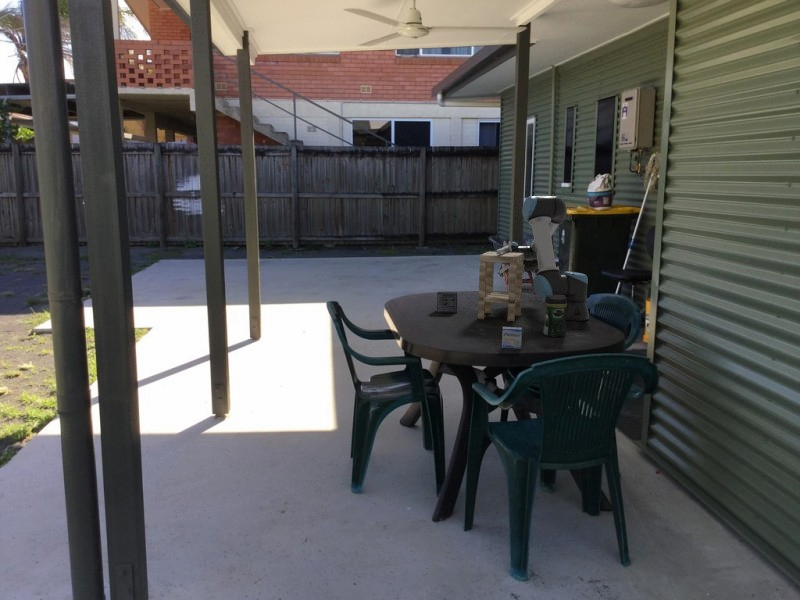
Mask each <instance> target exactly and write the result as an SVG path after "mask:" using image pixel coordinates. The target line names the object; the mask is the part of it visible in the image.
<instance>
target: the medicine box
mask: <svg viewBox="0 0 800 600" xmlns="http://www.w3.org/2000/svg"><path fill="white" fill-rule="evenodd" d="M501 335H502V337H501V340H502V341H501V349H502V348H519V349H521V350H522V336H523V327H517V326H516V327H515V326H513V327H512V326H502V333H501Z"/></svg>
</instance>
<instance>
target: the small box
mask: <svg viewBox="0 0 800 600" xmlns="http://www.w3.org/2000/svg"><path fill="white" fill-rule="evenodd" d="M436 294H437V296H436V297H437V298H436V299H437V300H436V301H437V302H436V303H437V304H436V313H439V314H442V313H443V314H458V291H437V293H436Z"/></svg>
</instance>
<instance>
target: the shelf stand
mask: <svg viewBox="0 0 800 600" xmlns="http://www.w3.org/2000/svg"><path fill="white" fill-rule="evenodd" d="M496 253H497V251H486V252H484V253H482V254H481V253H480V254H479V276H478V279H479V280H478V298H477V299H478V305H477V306H478V307H477V319H478V320H484V318H485V319H486V314H489V313H491V314H493V304H494V303H499V304H507V320H506V321H507V322H509V321H513V322H512V323H514V322H515V321H516V320H515V319H516V318H515V317H520V316H522V315H521V313H522V290H523V276H524V275H523V267H524V259H523V255H524V253H509V252H505V253H503V254H501V255H499V254H496ZM495 263H503V264H507V263H510V269H509V274H508V275H509V278H508V292H499V291H494V279H495V278H494V276H495V270H494V269H495Z"/></svg>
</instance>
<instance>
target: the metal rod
mask: <svg viewBox="0 0 800 600" xmlns="http://www.w3.org/2000/svg"><path fill="white" fill-rule="evenodd" d="M502 247H503V246H502ZM509 250H510V249H509V246H506V247H503V248H501V247H500V248H499V249H496V252H497V253H496V254H499V255H501V254H503V253H505V252H507V251H509Z"/></svg>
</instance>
